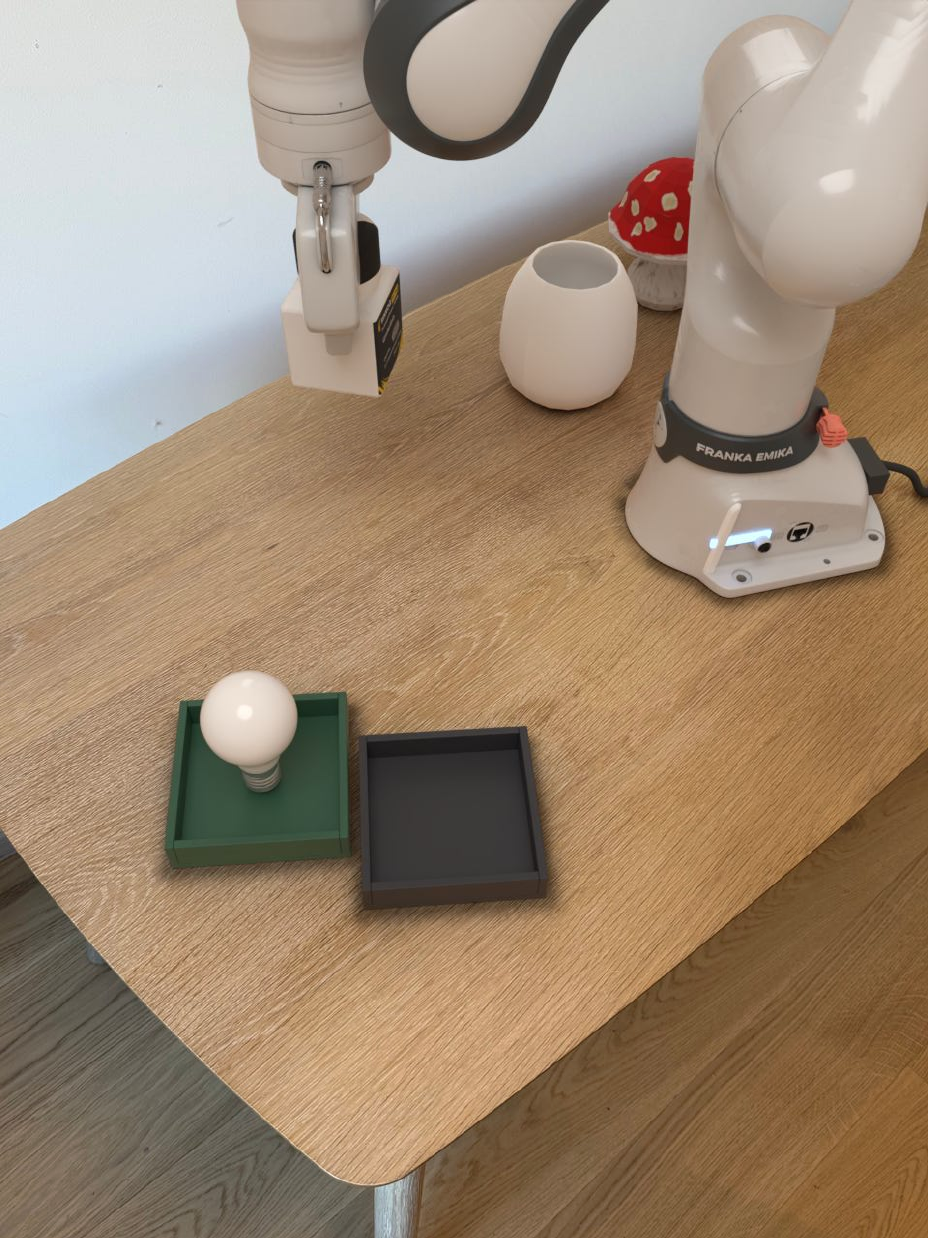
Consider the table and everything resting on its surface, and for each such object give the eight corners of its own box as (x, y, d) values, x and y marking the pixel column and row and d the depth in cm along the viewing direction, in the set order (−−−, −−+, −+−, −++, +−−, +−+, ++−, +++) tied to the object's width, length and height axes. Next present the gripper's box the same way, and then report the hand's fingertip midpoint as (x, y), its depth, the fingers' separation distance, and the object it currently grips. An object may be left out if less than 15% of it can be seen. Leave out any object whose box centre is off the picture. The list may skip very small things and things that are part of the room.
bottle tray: (524, 747, 82) (526, 725, 80) (545, 898, 74) (548, 878, 72) (360, 756, 81) (358, 735, 79) (364, 910, 73) (361, 891, 71)
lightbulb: (295, 826, 77) (277, 737, 68) (207, 813, 77) (179, 722, 69) (317, 750, 81) (303, 657, 72) (233, 738, 81) (209, 645, 73)
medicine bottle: (381, 400, 83) (370, 256, 74) (290, 388, 84) (268, 244, 75) (404, 345, 87) (397, 203, 78) (318, 334, 88) (301, 192, 79)
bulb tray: (348, 713, 84) (346, 691, 81) (351, 857, 76) (348, 837, 74) (186, 722, 83) (179, 700, 81) (171, 869, 75) (163, 849, 73)
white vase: (655, 382, 111) (676, 262, 100) (574, 445, 104) (588, 324, 94) (552, 329, 116) (563, 210, 106) (469, 386, 110) (472, 265, 99)
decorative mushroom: (666, 348, 114) (691, 214, 103) (571, 290, 121) (584, 159, 109) (750, 299, 120) (783, 167, 109) (655, 246, 127) (677, 117, 116)
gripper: (373, 210, 65) (385, 398, 75) (369, 60, 78) (380, 238, 89) (265, 213, 65) (292, 401, 75) (280, 62, 78) (301, 240, 88)
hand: (340, 312), depth 82 cm, fingers closed on medicine bottle, 8 cm apart
